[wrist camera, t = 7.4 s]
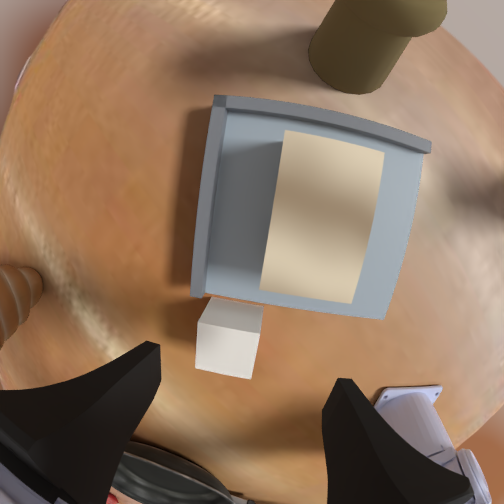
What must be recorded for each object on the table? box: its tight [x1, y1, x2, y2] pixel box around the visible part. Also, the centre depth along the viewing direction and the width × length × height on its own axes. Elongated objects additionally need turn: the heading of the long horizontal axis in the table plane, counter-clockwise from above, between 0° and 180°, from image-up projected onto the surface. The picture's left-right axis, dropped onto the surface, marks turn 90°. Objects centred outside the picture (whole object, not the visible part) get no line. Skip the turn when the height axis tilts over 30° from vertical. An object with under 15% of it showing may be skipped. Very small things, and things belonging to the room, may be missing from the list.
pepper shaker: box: [308, 0, 447, 95], centre depth 9 cm, size 6×6×11 cm
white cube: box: [195, 297, 264, 379], centre depth 19 cm, size 4×4×4 cm
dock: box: [190, 95, 432, 320], centre depth 17 cm, size 13×14×2 cm
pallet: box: [259, 130, 385, 304], centre depth 15 cm, size 8×5×4 cm, turn 172°
